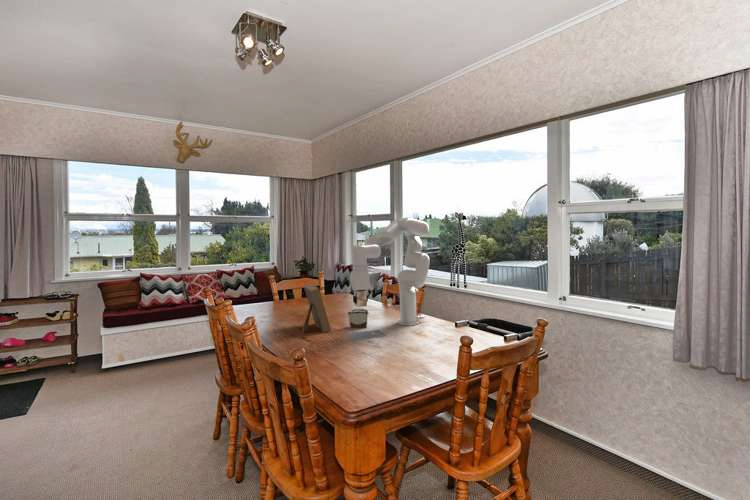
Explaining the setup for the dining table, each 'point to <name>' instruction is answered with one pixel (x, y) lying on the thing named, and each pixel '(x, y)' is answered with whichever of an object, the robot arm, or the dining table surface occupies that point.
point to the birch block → (361, 298)
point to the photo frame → (316, 308)
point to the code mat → (365, 335)
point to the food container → (358, 318)
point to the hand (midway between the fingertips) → (360, 302)
